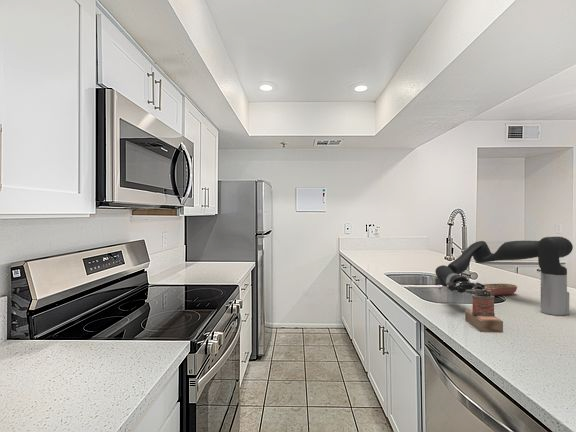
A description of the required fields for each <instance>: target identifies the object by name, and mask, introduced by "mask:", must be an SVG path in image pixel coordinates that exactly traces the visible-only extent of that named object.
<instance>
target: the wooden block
mask: <svg viewBox="0 0 576 432" xmlns="http://www.w3.org/2000/svg"><path fill="white" fill-rule="evenodd" d="M472 312H473V309H471V310H470V309H467V310H464V317H465V318H464V320H465V321H466V322H467V323H469V324H470V326H472V327H474V328H475V329H476V330H478V331H479V332H484V333H485V332H486V333H489V332H490V333H504V320H502V319H500V318H498V316H497V317H496V316H475V315H472Z"/></svg>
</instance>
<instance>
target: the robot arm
mask: <svg viewBox="0 0 576 432" xmlns="http://www.w3.org/2000/svg"><path fill="white" fill-rule="evenodd" d="M573 248H574V246H573V244H572V242H571V241H570V240H569V238H566V237H564V236H545V237H542V238H541V239H540V240H511V241H506V242H504V243H502V244H501V245H500V246H499V247H498V248H497V250H496V251H495V252H494V253H493V252H491V250H490V247H489V245H488V243H487V242H486V241H484V240H480V241H475V242H473V243H472V244H470V245H469V246H467V248H466V249H465V250H464V251H463V252H462V253H461V255H459V257H457V258H455V259H454V260H453V261H452V262H450V263H449V264H448V265H443V264H442V265H439V266H437V267H436V269H435V271H434V272H435V275H436V277H437V279H438V282H439V284H440V285H441V286H442V287H444V288H445V287H446V288H447V290H449V291H450V292H454V291H455V292H457V293H460V294H463V293H465V292H466V293H467V292H469V291H471V292H474V290H482V289H485V284H483V283H480V282H478V281H477V282H475V283H474V282H472V281H471V282H470V280H469V279H468V278H467V277H466V276H463V275H461V274H462V273H464V272H465V271H466V270H467V269H468V268H469V266H470V263H471V260H472V257H473V260H474V262H476V263H479V264H480V263H481V264H483V263H490V262H497V261H519V260H521V261H522V260H530V259H534V258H537V261H538V267H539V268H540V312H541V313H544V314H545V315H546V314H547V315H552V316H567V315H570V292H569V291H568V269H567V267H566V266H563V265H561V264H562V263H561V262H560V261H561V260H560V258H561V259H562V258H565V257H567V256H569V255H570V254H571V253H572V252H573Z"/></svg>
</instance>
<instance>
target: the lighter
mask: <svg viewBox="0 0 576 432" xmlns="http://www.w3.org/2000/svg"><path fill="white" fill-rule="evenodd" d="M473 293H474V294H471V298H472V310H473V312H472V315H475V316H495V298H496V297H495V296H492V295H491V290H485V289H482V290H474V291H473ZM480 293H481V294H480ZM495 317H496V316H495Z"/></svg>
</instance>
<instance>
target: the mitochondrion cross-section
mask: <svg viewBox="0 0 576 432" xmlns="http://www.w3.org/2000/svg"><path fill="white" fill-rule="evenodd" d="M484 285H485V290H491V295H492V296H509V295H510V296H511V295H513V294H515V293H516V292H517V289H518V286H517V285H516V284H512V283H511V284H510V283H485V284H484ZM480 294H481V293H480Z"/></svg>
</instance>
